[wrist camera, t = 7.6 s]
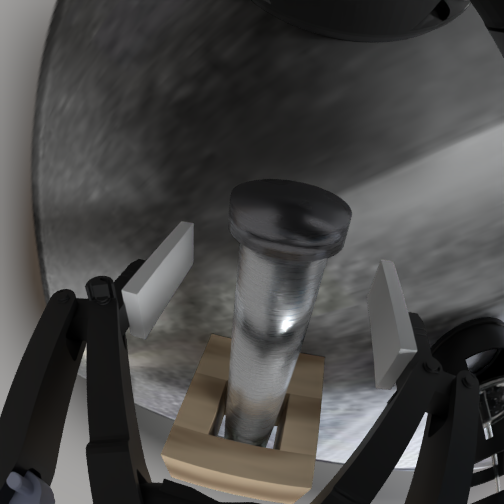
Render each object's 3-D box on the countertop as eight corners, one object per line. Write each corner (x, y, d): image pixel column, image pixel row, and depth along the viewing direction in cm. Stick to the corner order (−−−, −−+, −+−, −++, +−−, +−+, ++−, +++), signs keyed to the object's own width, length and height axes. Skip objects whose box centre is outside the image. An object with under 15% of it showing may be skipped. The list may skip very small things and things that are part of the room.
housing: (211, 333, 27) (160, 454, 17) (324, 357, 25) (311, 488, 15) (211, 373, 30) (171, 476, 20) (308, 393, 29) (292, 504, 18)
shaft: (245, 173, 14) (213, 213, 10) (347, 191, 13) (357, 241, 9) (225, 413, 25) (211, 457, 21) (276, 424, 24) (267, 469, 21)
